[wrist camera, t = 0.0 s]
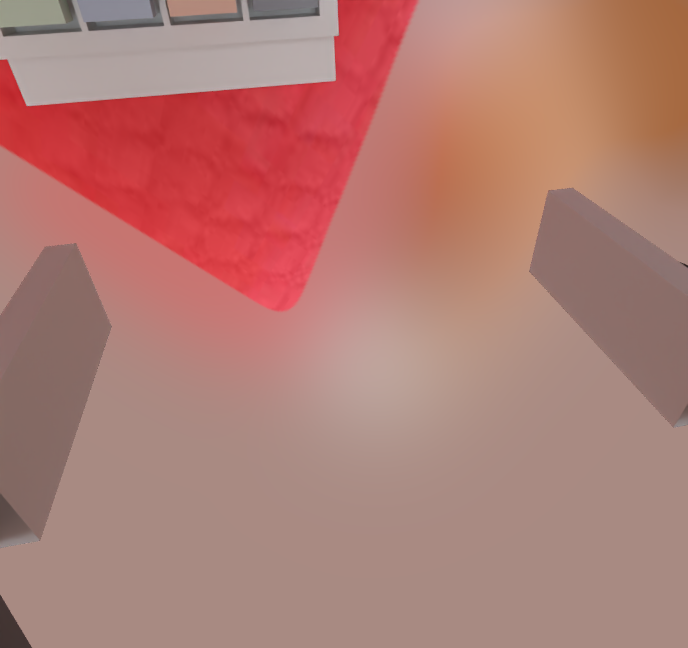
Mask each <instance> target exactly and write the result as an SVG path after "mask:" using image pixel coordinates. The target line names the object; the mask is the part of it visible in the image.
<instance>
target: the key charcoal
mask: <svg viewBox="0 0 688 648" xmlns="http://www.w3.org/2000/svg"><path fill="white" fill-rule="evenodd" d="M252 5H253V11H269V10H285V9H301V8H316V7H318V0H252Z"/></svg>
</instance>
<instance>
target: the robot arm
mask: <svg viewBox="0 0 688 648" xmlns="http://www.w3.org/2000/svg"><path fill="white" fill-rule="evenodd" d="M529 272H530V273H531V274H532V275H533V276H534V277H535V278H536V279H537V280H538V281H539V283H540V284H541V285H542V286H543V287H544V288H545V289H546V290H547V291H548V292H549V293H550V294H551V296H552V297H553V298H554V299H555V300H556V301H557V302H558V303H559V304H560V305H561V306H562V307H563V309H564V310H565V311H566V312H567V313H568V314H569V315H570V316H571V317H572V318H573V319H574V320H575V321H576V323H577V324H578V325H579V326H580V327H581V328H582V329H583V330H584V331H585V332H586V333H587V334H588V336H589V337H590V338H591V339H592V340H593V341H594V342H595V343H596V344H597V345H598V346H599V347H600V349H601V350H602V351H603V352H604V353H605V354H606V355H607V356H608V357H609V358H610V359H611V360H612V362H613V363H614V364H615V365H616V366H617V367H618V368H619V369H620V370H621V371H622V372H623V373H624V374H625V375H626V377H627V378H628V379H629V380H630V381H631V382H632V383H633V384H634V385H635V386H636V387H637V389H638V390H639V391H640V392H641V393H642V394H643V395H644V396H645V397H646V398H647V399H648V400H649V402H650V403H651V404H652V405H653V406H654V407H655V408H656V409H657V410H658V411H659V412H660V414H661V415H662V416H663V417H664V418H665V419H666V420H667V421H668V422H669V423H670V424H671V425H672V426H673V427H680V426H685V425H688V265H686V264H683V263H681V262H679V261H677V260H676V259H674V258H673V257H671V256H669V255H668V254H667V253H666V252H664V251H663V250H661V249H660V248H658V247H657V246H656V245H654V244H653V243H651V242H650V241H648V240H647V239H645V238H644V237H643V236H641V235H640V234H638V233H637V232H635V231H634V230H632V229H631V228H629V227H628V226H627V225H625V224H624V223H622V222H621V221H619V220H618V219H616V218H615V217H614V216H612V215H611V214H609V213H608V212H607V211H605V210H604V209H602V208H601V207H599V206H598V205H597V204H595V203H594V202H592V201H591V200H589V199H588V198H586V197H585V196H584V195H582V194H581V193H579V192H578V191H576V190H575V189H574V188H567V189H558V190H549V191H548V194H547V198H546V202H545V206H544V211H543V215H542V219H541V224H540V228H539V232H538V236H537V241H536V245H535V250H534V253H533V258H532V262H531V267H530V271H529ZM111 327H112V326H111V324H110V322H109V319H108V317H107V314H106V312H105V310H104V308H103V305H102V303H101V300H100V299H99V296H98V293H97V291H96V289H95V286H94V284H93V282H92V279H91V277H90V275H89V272H88V270H87V268H86V265H85V263H84V261H83V258H82V256H81V253H80V251H79V249H78V247H77V244H76V243H75V244H67V245H57V246H48V247H45V248H44V249H43V251H42V252H41V254H40V255H39V257H38V258H37V260H36V261H35V263H34V265H33V266H32V268H31V269H30V271H29V272H28V274H27V275H26V277H25V278H24V280H23V281H22V283H21V285H20V286H19V288H18V289H17V291H16V292H15V294H14V295H13V297H12V299H11V300H10V301H9V303H8V304H7V306H6V308H5V309H4V311H3V312H2V314H1V315H0V548H2V547H8V546H14V545H19V544H25V543H30V542H36V541H40V539H41V537H42V534H43V531H44V528H45V525H46V522H47V519H48V516H49V513H50V510H51V507H52V504H53V501H54V498H55V495H56V492H57V489H58V486H59V483H60V480H61V477H62V474H63V471H64V467H65V465H66V462H67V459H68V456H69V453H70V450H71V447H72V444H73V441H74V438H75V435H76V432H77V429H78V426H79V423H80V420H81V417H82V414H83V411H84V408H85V405H86V402H87V399H88V396H89V393H90V390H91V387H92V384H93V381H94V378H95V375H96V372H97V369H98V366H99V363H100V360H101V357H102V354H103V351H104V348H105V345H106V342H107V339H108V336H109V333H110V330H111ZM0 648H32V647H31V645H30V644H29V642H28V640H27V639H26V637H25V635H24V634H23V632H22V630H21V629H20V627H19V625H18V624H17V622H16V620H15V619H14V617H13V616H12V614H11V612H10V610H9V609H8V607H7V605H6V604H5V602H4V600H3V599H2V597H1V595H0Z"/></svg>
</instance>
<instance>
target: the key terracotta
mask: <svg viewBox="0 0 688 648" xmlns="http://www.w3.org/2000/svg"><path fill="white" fill-rule="evenodd" d="M167 4H168V8H169V13H170V17H175V16H191V15H207V14H222V13H237V5H236V0H167Z"/></svg>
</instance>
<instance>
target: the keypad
mask: <svg viewBox="0 0 688 648" xmlns="http://www.w3.org/2000/svg"><path fill="white" fill-rule="evenodd" d="M153 1H154V6H155V10H156V14H157V15H156V16H155V17H154V18H144V19H128V20H113V21H97V22H84V21H83V18H82V15H81V12H80V9H79V6H78V3H77V0H67V3H68V6H69V9H70V12H71V15H72V18H73V21H71V22H68V23H66V24H50V25H34V26H19V27H3V28H0V60H3V59H7V60H8V62H9V65H10V67H11V69H12V72H13V74H14V77H15V79H16V81H17V84H18V86H19V89H20V91H21V93H22V96H23V98H24V101H25V103H26V105H27V106H35V105H47V104H59V103H71V102H84V101H96V100H108V99H120V98H133V97H145V96H157V95H169V94H181V93H194V92H206V91H218V90H230V89H242V88H255V87H267V86H279V85H291V84H304V83H316V82H328V81H336V72H335V50H334V36H339V28H338V3H337V0H318V7H316V8H301V9H285V10H269V11H253V5H252V0H236V5H237V13H222V14H207V15H191V16H175V17H170V13H169V8H168V4H167V0H153Z"/></svg>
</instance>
